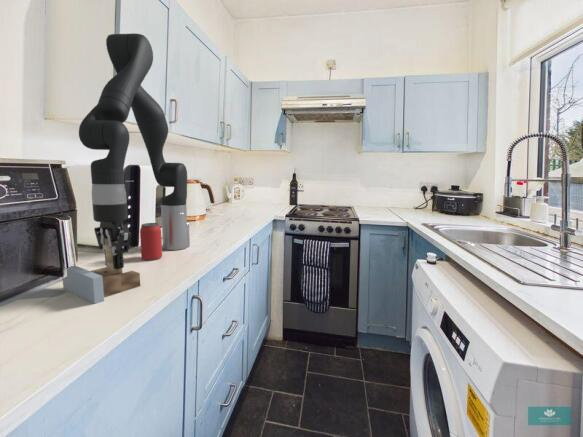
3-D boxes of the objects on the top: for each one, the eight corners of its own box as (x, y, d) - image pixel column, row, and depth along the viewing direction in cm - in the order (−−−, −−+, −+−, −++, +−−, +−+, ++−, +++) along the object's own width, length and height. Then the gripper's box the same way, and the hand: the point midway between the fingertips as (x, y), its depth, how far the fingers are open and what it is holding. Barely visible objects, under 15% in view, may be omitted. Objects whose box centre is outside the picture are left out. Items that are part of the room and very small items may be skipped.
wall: (72, 285, 78) (70, 263, 77) (104, 300, 70) (102, 276, 69) (63, 288, 76) (61, 265, 75) (94, 303, 68) (92, 278, 67)
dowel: (118, 278, 82) (115, 235, 80) (125, 281, 80) (122, 237, 78) (105, 282, 79) (101, 238, 77) (112, 285, 77) (108, 240, 75)
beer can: (144, 262, 100) (142, 226, 98) (139, 257, 105) (137, 223, 103) (164, 258, 104) (163, 224, 102) (159, 254, 109) (157, 222, 107)
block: (115, 276, 85) (115, 264, 85) (140, 285, 79) (139, 273, 78) (76, 287, 77) (74, 274, 76) (99, 298, 71) (98, 284, 70)
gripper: (140, 202, 76) (144, 268, 78) (110, 199, 83) (115, 259, 86) (109, 205, 69) (114, 276, 72) (80, 201, 77) (85, 265, 79)
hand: (114, 266), depth 79 cm, fingers closed on dowel, 3 cm apart
